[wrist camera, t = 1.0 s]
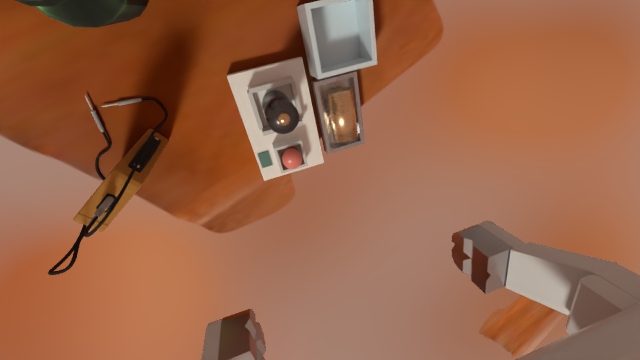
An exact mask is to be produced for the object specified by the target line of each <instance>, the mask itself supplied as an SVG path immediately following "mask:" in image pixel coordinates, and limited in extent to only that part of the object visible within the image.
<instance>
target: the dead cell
mask: <svg viewBox="0 0 640 360" xmlns="http://www.w3.org/2000/svg"><path fill="white" fill-rule="evenodd" d="M262 108H263V111H264V114H265V117H266V120H267V123H268V125H269V127H270V128H271V129H272V130H273V131H274V132H276V133H279V134H287V133H290V132H292V131H293V130H294V129H295V128H296V127H297V125H298V123H299V113H298V110H297V109H296V107H295V106H294V105H293V104H292V102H291V101H290V100H289V98H288V97H287V96H286V95H285V94H284V93H283V92H281V91H278V90H273V91H270V92H268V93H267V94H266V95H265V96H264V97H263V100H262Z"/></svg>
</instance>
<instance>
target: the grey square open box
mask: <svg viewBox="0 0 640 360" xmlns="http://www.w3.org/2000/svg"><path fill="white" fill-rule="evenodd" d="M297 12H298V17H299V22H300V27H301V32H302V37H303V42H304V47H305V52H306V57H307V62H308V67H309V72H310V75H311V76H313V77H315V78H317V79H318V80H319V79H322V78H326V77H330V76H334V75H338V74H342V73H345V72H349V71H353V70H357V69H361V68H365V67H368V66H372V65H376V64H377V54H376V40H375V26H374V11H373V0H320V1H315V2H311V3H306V4H303V5H300V6H298V7H297Z"/></svg>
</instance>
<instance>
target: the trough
mask: <svg viewBox="0 0 640 360" xmlns="http://www.w3.org/2000/svg"><path fill="white" fill-rule="evenodd" d="M311 85H312V90H313V95H314V100H315V105H316V110H317V115H318V120H319V125H320V130H321V135H322V140H323V145H324V150H325V152H326V153H327V154H330V153H333V152H337V151H340V150H344V149H347V148H350V147H354V146H356V145H360V144H364V143H365V142H364V134H363V124H362V115H361V106H360V97H359V88H358V79H357V71H354V70H353V71H349V72H345V73H342V74H338V75H334V76H330V77H326V78H322V79H319V80H318V79H315V80H311ZM339 87H351V88H352V89H353V97H354V105H355V114H356V122H357V130H358V137H357V138H355V139H354V140H351V141H348V142H337V141H335V140H334V138H333V132H332V127H331V121H330V115H329V110H328V104H327V98H326V92H327V91H329V90H332V89H335V88H339Z"/></svg>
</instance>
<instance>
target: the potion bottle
mask: <svg viewBox="0 0 640 360" xmlns="http://www.w3.org/2000/svg"><path fill="white" fill-rule="evenodd" d="M16 1H18V2H21V3H24V4H26V5H29V6H34V7H36V8H37V9H38V10H40V11H41V12H43V13H44V14H45V15H47V16H48V17H50V18H52V19H55V20H58V21H60V22H63V23H66V24H68V25H71V26H74V27H101V26H106V25H111V24H115V23H120V22H124V21H129V20H131V19H133V18H136V17H138V16H140V15H141V13H142V12H143V10H144V9H145V8H146V6H147V0H16Z"/></svg>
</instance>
